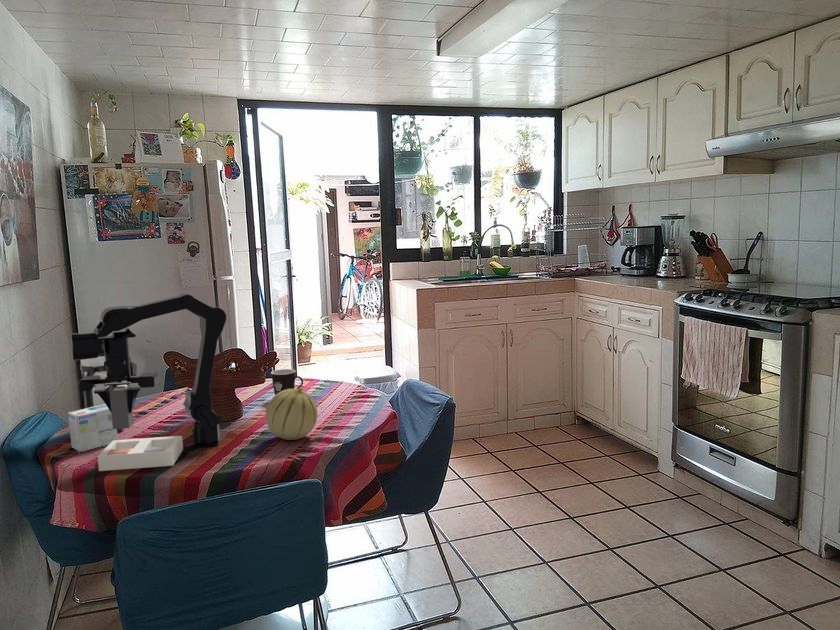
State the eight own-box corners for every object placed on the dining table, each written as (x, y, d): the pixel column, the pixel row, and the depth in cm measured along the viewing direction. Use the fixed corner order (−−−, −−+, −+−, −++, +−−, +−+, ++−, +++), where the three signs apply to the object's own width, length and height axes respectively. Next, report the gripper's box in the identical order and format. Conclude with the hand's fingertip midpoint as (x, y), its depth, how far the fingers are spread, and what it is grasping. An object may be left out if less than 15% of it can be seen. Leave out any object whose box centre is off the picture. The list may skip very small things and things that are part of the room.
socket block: (183, 449, 171) (182, 434, 170) (173, 465, 159) (171, 449, 158) (114, 454, 168) (113, 439, 167) (98, 471, 156) (97, 454, 156)
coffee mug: (268, 399, 221) (266, 372, 220) (288, 394, 227) (287, 368, 226) (284, 405, 213) (283, 377, 211) (305, 400, 218) (304, 373, 217)
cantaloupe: (264, 434, 183) (261, 385, 181) (313, 427, 188) (311, 379, 186) (270, 450, 169) (268, 397, 167) (323, 442, 174) (321, 391, 172)
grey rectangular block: (133, 423, 165) (130, 385, 163) (129, 428, 161) (125, 388, 159) (117, 424, 164) (114, 385, 163) (112, 429, 160) (109, 389, 159)
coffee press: (71, 429, 190) (61, 334, 186) (124, 417, 202) (116, 327, 198) (91, 442, 178) (81, 340, 174) (146, 428, 190) (138, 333, 186)
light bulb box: (108, 438, 182) (105, 403, 180) (119, 442, 177) (116, 406, 176) (70, 448, 173) (66, 411, 172) (80, 453, 169) (76, 415, 168)
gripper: (162, 348, 169) (166, 402, 171) (90, 351, 166) (95, 407, 168) (151, 356, 158) (156, 414, 160) (74, 359, 155) (79, 419, 158)
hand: (122, 413), depth 162 cm, fingers closed on grey rectangular block, 4 cm apart
